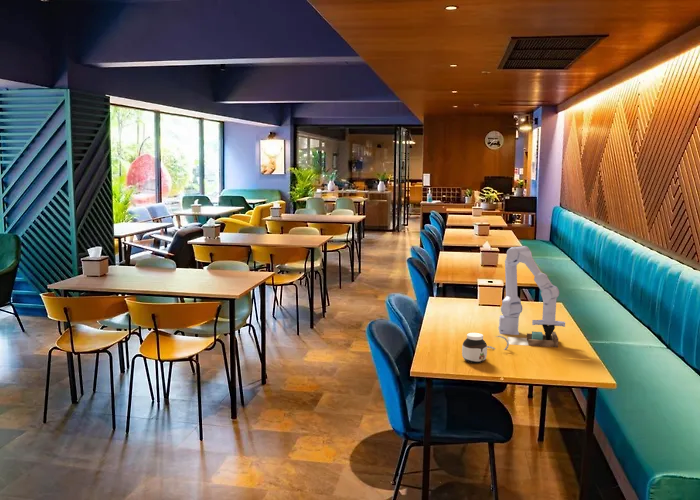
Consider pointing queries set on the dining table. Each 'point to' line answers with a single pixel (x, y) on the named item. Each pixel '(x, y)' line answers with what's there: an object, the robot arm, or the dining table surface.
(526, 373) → the dining table surface
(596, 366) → the dining table surface
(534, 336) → the teal block
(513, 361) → the dining table surface
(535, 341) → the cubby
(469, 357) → the spread jar
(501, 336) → the hook
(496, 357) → the dining table surface
